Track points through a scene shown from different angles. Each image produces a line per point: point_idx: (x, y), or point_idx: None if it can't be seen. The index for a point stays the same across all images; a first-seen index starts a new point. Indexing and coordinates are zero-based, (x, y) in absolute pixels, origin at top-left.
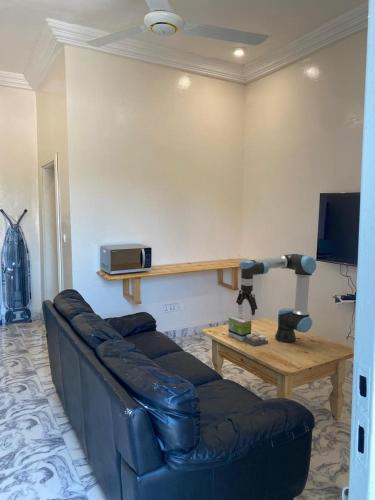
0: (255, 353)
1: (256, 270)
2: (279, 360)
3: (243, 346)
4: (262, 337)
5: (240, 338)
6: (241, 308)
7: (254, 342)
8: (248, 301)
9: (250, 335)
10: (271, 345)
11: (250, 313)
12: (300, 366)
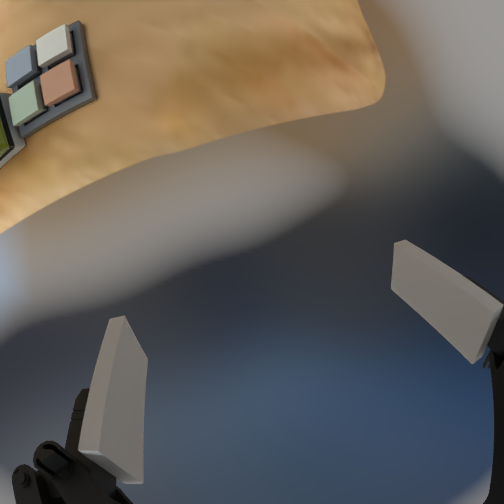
0: (183, 121)
1: None
2: (294, 57)
3: (82, 152)
4: (66, 42)
5: (14, 151)
6: (119, 396)
7: (78, 91)
8: (495, 480)
9: (23, 101)
10: (109, 15)
11: (440, 331)
12: (362, 29)
